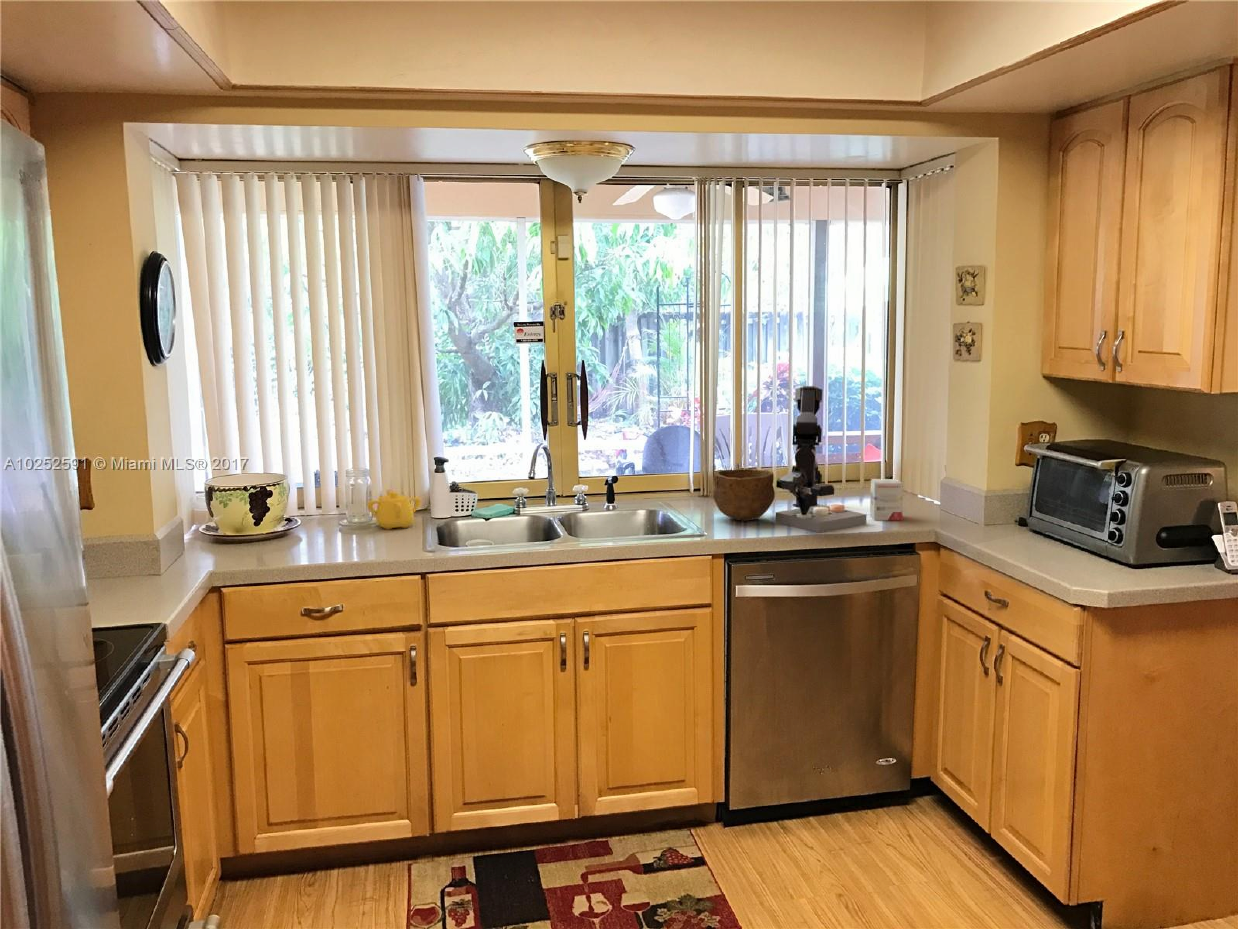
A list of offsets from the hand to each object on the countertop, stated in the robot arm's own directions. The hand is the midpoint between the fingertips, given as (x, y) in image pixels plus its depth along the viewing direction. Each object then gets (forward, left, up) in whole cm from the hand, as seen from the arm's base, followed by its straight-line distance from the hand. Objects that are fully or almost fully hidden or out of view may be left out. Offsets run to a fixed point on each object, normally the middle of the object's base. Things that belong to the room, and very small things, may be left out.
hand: (804, 514), depth 289 cm
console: (0, +7, -3) cm, 8 cm away
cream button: (0, +7, -2) cm, 7 cm away
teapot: (-70, -100, -4) cm, 122 cm away
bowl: (-17, -9, -4) cm, 20 cm away
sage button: (0, 0, -3) cm, 3 cm away
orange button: (0, +14, -2) cm, 14 cm away
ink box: (+6, +29, -4) cm, 30 cm away
